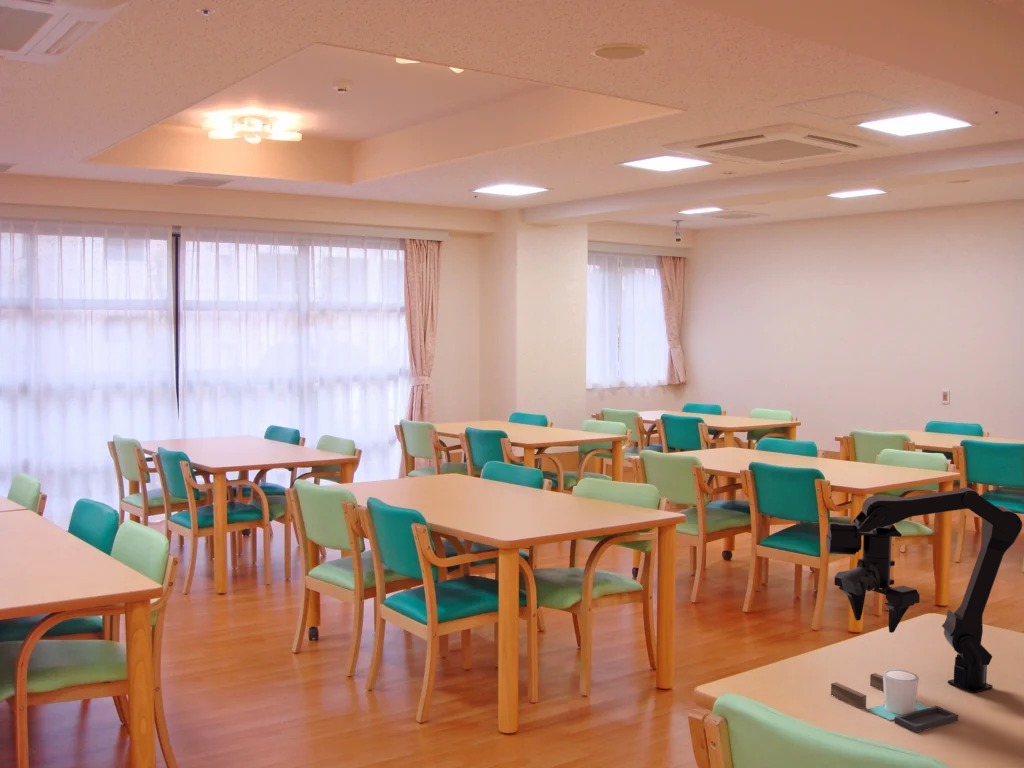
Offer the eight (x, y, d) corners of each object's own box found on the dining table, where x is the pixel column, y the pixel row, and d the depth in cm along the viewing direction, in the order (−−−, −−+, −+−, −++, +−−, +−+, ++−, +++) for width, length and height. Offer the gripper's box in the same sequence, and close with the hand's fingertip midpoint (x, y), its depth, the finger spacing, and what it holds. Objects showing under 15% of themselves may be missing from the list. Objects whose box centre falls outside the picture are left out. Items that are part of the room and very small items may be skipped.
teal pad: (907, 699, 202) (907, 698, 202) (932, 709, 197) (932, 708, 197) (866, 710, 197) (866, 709, 197) (890, 721, 192) (890, 720, 192)
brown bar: (875, 684, 211) (875, 673, 210) (905, 697, 204) (905, 685, 203) (830, 695, 205) (831, 683, 204) (860, 708, 198) (861, 696, 197)
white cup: (921, 717, 193) (922, 682, 193) (884, 714, 194) (885, 680, 194) (913, 703, 200) (915, 670, 199) (878, 700, 201) (879, 667, 201)
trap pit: (936, 711, 196) (936, 705, 196) (958, 720, 192) (958, 714, 192) (894, 723, 191) (894, 717, 191) (915, 732, 186) (915, 726, 186)
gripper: (817, 550, 216) (815, 619, 217) (884, 569, 199) (882, 644, 200) (853, 544, 221) (851, 612, 222) (922, 563, 204) (920, 636, 205)
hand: (874, 626), depth 212 cm, fingers open, 9 cm apart
